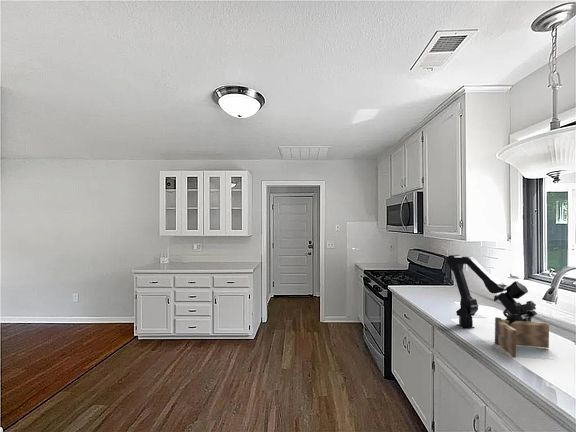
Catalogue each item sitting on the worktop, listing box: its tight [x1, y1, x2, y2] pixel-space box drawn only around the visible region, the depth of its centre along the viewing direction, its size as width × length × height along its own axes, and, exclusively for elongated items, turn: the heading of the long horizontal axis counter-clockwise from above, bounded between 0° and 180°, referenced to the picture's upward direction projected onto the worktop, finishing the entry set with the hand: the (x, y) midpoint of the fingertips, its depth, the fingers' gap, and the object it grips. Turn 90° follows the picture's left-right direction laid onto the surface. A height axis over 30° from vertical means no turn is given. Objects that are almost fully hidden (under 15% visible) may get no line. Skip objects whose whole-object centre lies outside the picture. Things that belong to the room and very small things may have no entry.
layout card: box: [491, 341, 554, 361], centre depth 154 cm, size 17×17×1 cm
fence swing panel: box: [501, 318, 550, 349], centre depth 158 cm, size 19×1×11 cm, turn 77°
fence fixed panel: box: [494, 316, 517, 358], centre depth 154 cm, size 17×2×12 cm, turn 171°
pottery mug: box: [502, 309, 511, 318], centre depth 199 cm, size 12×10×8 cm
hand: (534, 334), depth 158 cm, fingers closed
